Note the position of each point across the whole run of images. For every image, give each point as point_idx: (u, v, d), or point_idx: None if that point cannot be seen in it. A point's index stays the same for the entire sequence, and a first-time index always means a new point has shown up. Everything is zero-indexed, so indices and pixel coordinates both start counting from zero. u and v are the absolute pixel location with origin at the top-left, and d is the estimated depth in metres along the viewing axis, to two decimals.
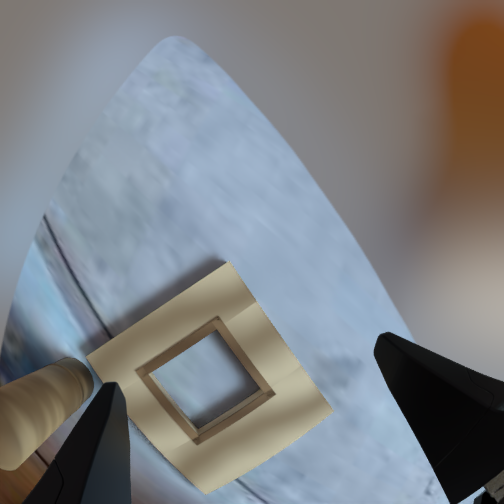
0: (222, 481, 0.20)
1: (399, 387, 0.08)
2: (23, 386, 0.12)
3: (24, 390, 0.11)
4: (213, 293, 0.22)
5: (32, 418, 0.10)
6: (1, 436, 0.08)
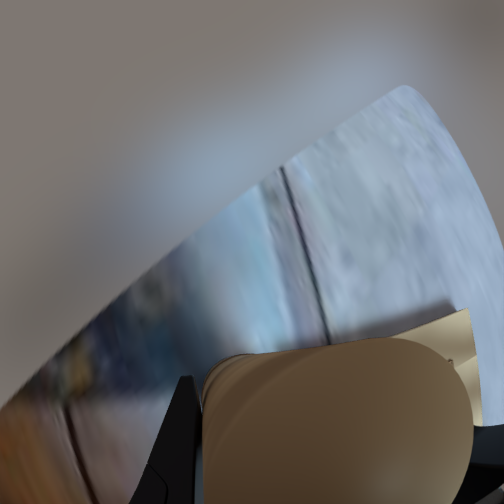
0: None
1: None
2: None
3: None
4: (452, 334, 0.16)
5: None
6: (429, 472, 0.03)
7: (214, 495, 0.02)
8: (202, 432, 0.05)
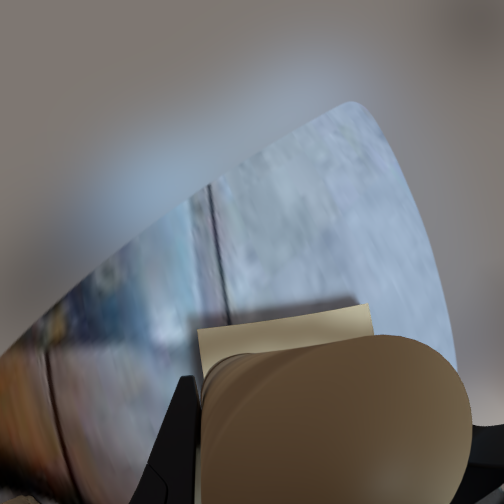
0: None
1: None
2: None
3: None
4: (346, 324, 0.23)
5: None
6: (428, 470, 0.03)
7: (211, 492, 0.02)
8: (201, 430, 0.05)
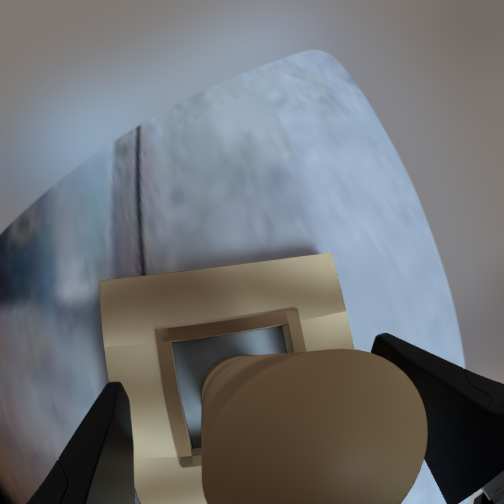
0: None
1: None
2: None
3: None
4: (300, 279, 0.17)
5: None
6: (385, 459, 0.04)
7: (209, 465, 0.03)
8: (201, 423, 0.06)
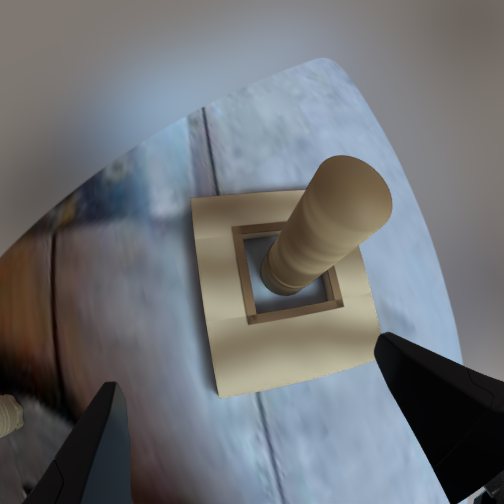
0: (248, 387, 0.20)
1: (399, 387, 0.08)
2: None
3: None
4: None
5: None
6: (375, 194, 0.13)
7: (317, 180, 0.13)
8: (294, 215, 0.16)
